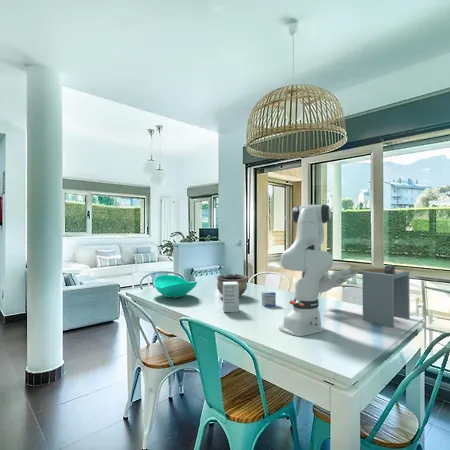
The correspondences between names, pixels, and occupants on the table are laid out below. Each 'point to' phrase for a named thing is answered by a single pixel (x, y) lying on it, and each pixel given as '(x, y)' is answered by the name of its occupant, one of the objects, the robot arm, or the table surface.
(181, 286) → the table top decor
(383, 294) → the shelf stand
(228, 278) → the ceramic bowl
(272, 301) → the medicine box
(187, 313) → the table surface
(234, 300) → the supplement box
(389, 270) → the beech handle
